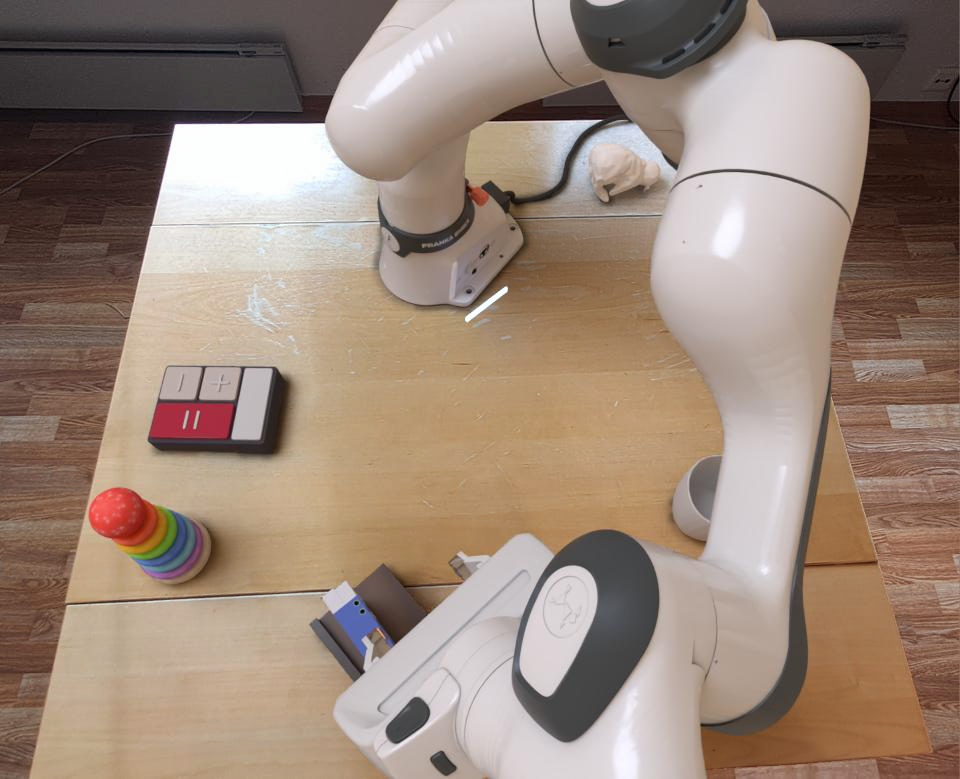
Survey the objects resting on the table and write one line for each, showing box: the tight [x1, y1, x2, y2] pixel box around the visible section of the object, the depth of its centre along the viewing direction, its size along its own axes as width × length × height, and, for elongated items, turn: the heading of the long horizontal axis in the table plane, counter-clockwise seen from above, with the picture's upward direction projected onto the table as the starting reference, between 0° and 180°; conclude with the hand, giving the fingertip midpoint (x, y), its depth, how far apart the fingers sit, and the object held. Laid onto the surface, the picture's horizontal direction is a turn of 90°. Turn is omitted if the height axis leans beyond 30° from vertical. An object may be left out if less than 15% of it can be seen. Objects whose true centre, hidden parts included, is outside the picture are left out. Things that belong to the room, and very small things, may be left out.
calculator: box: [147, 365, 285, 455], centre depth 89 cm, size 11×4×15 cm
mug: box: [671, 454, 722, 542], centre depth 82 cm, size 13×9×10 cm
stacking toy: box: [87, 486, 212, 585], centre depth 75 cm, size 8×8×19 cm
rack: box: [308, 563, 428, 683], centre depth 76 cm, size 10×10×8 cm
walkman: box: [322, 580, 395, 658], centre depth 68 cm, size 8×3×12 cm, turn 40°
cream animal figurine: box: [587, 142, 662, 203], centre depth 106 cm, size 6×8×12 cm
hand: (416, 599), depth 58 cm, fingers open, 8 cm apart
